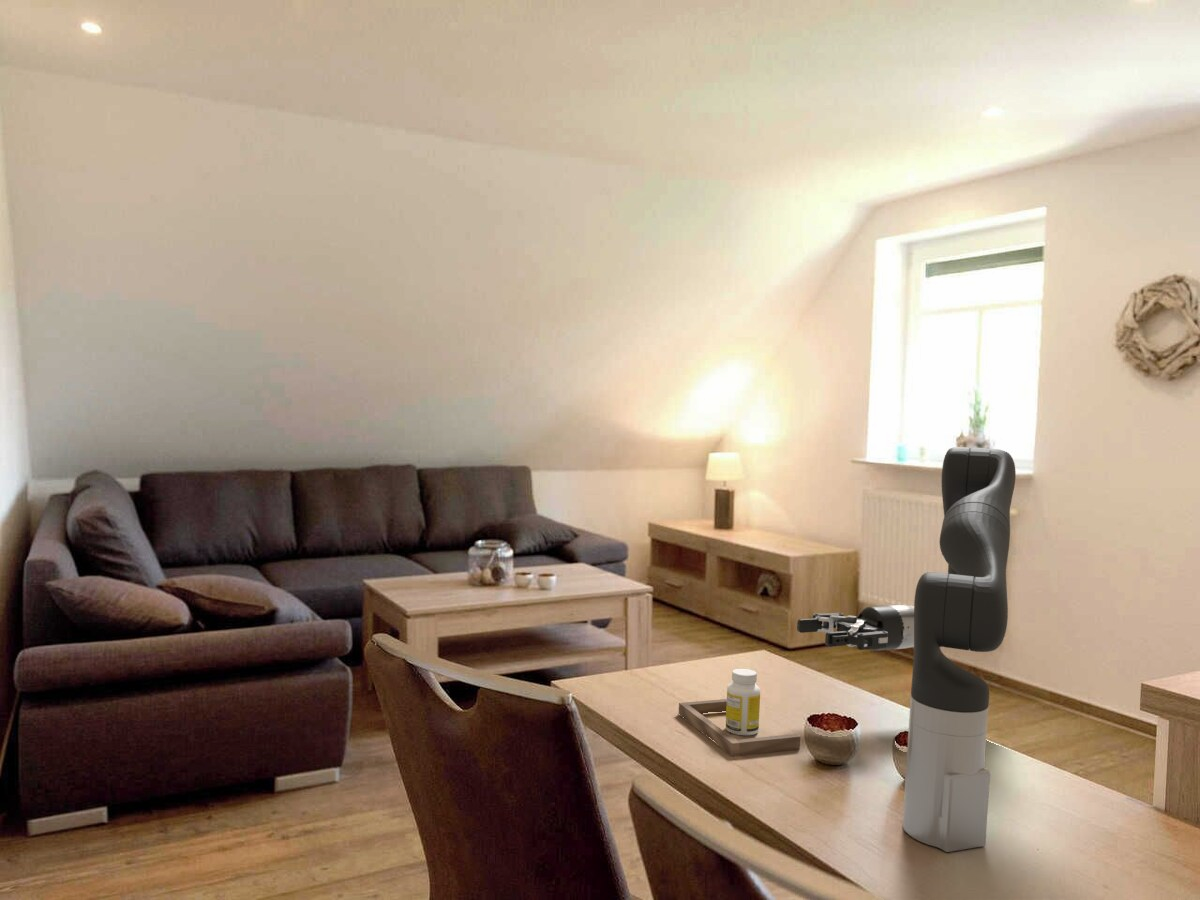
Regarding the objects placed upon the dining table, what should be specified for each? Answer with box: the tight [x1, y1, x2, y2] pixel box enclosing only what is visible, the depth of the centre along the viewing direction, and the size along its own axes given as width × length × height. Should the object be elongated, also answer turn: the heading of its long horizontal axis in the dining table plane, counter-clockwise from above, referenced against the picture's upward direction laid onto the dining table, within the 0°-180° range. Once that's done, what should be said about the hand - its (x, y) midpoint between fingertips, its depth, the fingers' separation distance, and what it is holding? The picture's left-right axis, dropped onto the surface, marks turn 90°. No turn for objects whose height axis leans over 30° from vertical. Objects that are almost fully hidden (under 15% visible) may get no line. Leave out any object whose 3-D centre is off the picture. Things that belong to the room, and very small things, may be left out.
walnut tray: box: [678, 698, 801, 757], centre depth 151 cm, size 19×12×2 cm, turn 20°
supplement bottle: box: [725, 668, 761, 737], centre depth 151 cm, size 5×5×10 cm
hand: (812, 632), depth 155 cm, fingers open, 8 cm apart
